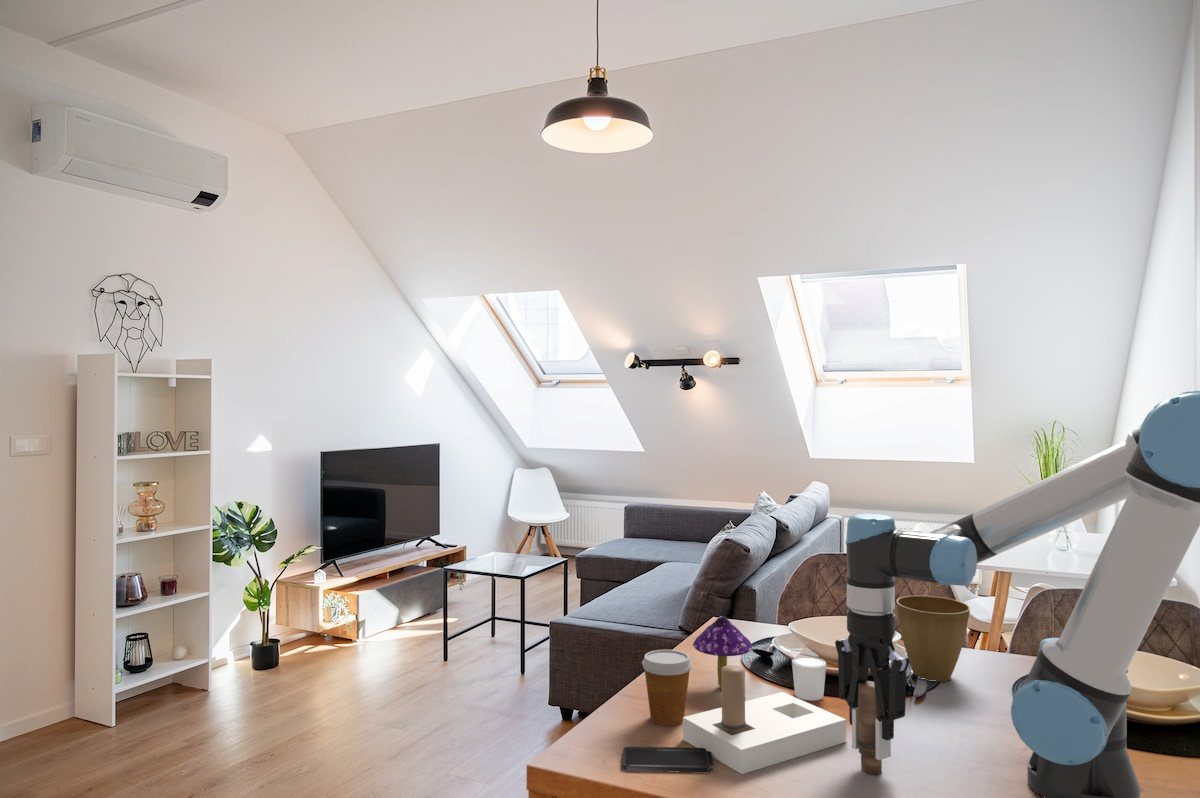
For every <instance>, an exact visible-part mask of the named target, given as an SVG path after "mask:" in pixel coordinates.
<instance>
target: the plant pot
mask: <svg viewBox="0 0 1200 798" xmlns="http://www.w3.org/2000/svg"><path fill="white" fill-rule="evenodd" d="M895 601H896V602H895V603H896V609H897V617H898V623H899V628H900V633H901V638H902V641H903V645H904V649H905V653H906V657H907V658H908V659H909V665H910V667H911V670H912V673H913V675H914V674H915V675H916V676H917V677H920V678H925V679H928V680H936V681H940V682H939V683H944V682H947V681H949V680H950V679H951V677H952V676H953V675H952V674H954V671H955V668H956V665H957V662H958V660H959V657H960V656H961V655H960V654H961V651H962V648H963V644H964V641H965V637H966V634H967V628H968V623H969V618H970V611H971V607H970V606H969V604H967V603H966V602H962V601H960V600H956V599H951V598H949V597H947V598H946V597H940V596H932V595H906V596H901V597H898V598H897V599H896V600H895ZM915 675H914V676H915ZM916 676H915V677H916ZM917 677H916V678H917ZM920 678H919V679H920Z"/></svg>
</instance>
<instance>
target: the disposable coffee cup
mask: <svg viewBox="0 0 1200 798" xmlns="http://www.w3.org/2000/svg"><path fill="white" fill-rule="evenodd" d="M641 665H642V668H643V670H644V674H645V683H646V684H645V685H646V690H647V691H646V692H647V698H648V708H649V713H650V721H651V722H652V723H654V724H656V725H659V726H665V725H666V727H667V726H676V725H679V724H683V717H685V713H686V711H685V710H686V704H687V696H688V687H689V678H690V671H691V669H692V666H693V662H692V661H691V657H690V655H689V654H688V653H686V652H683V651H681V650H676V649H656V650H651V651H649V652H647V653H645V654H644V657H643V660H642V661H641Z"/></svg>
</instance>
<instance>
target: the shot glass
mask: <svg viewBox="0 0 1200 798" xmlns="http://www.w3.org/2000/svg"><path fill="white" fill-rule="evenodd" d="M791 666H792V667H791V669H792V675H793V676H792V678H793V687H794V696H795V697H796V698H798V699H800V700H802V701H820V700H822V699H824V696H825V695H824V693H825V681H826V671H827V670H826V669H827V662H826V661H825V660H823V659H822V658H818V657H812V656H800V657H799V656H798V657H795V658H793V659H791Z"/></svg>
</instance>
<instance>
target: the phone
mask: <svg viewBox="0 0 1200 798" xmlns="http://www.w3.org/2000/svg"><path fill="white" fill-rule="evenodd" d="M622 752H623V753H622V759H621V760H622V761H621V762H622V763H621V766H622V767H621V768H622V770H623V771H625V770H626V771H627V772H647V771H653V772H652V773H656V771H663V772H662V773H668V772H667V771H679V772H678V773H692V772H710V773H712V772H713V771H714V762H713V757H712V755H711V752H710V751H707V750H706V749H705V748H696V747H678V746H677V747H673V746H669V747H668V746H667V747H666V746H632V745H631V746H629V745H628V746H625V747H624V748H623V749H622ZM626 771H625V772H626ZM711 771H712V772H711Z"/></svg>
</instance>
